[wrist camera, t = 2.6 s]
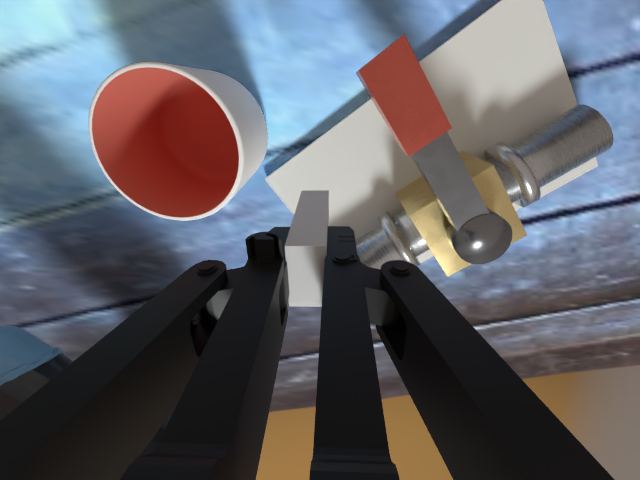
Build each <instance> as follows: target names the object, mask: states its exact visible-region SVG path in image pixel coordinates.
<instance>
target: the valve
mask: <svg viewBox="0 0 640 480" xmlns="http://www.w3.org/2000/svg"><path fill="white" fill-rule="evenodd" d="M612 144H613V133H612V130H611V128H610V126H609V124H608V122H607V121H606V119H605V118H604V117H603V116H602V115H601V114H600V113H599V112H598V111H596V110H595V109H593V108H591V107H589V106H587V105H576V106H574V107H572V108H570V109H569V110H567V111H565V112H564V113H562V114H561V115H559V116H557V117H556V118H554V119H552V120H551V121H549V122H548V123H546V124H544V125H543V126H541V127H539V128H538V129H536V130H534V131H533V132H531V133H530V134H528V135H526V136H525V137H523V138H521V139H520V140H518V141H517V142H515V143H513V144H512V145H510V146H509V145H508V144H506V143H504V142H497V143H496V144H494V145H492V146H491V147H489V148H488V149H486V150H485V152H484V155H485V157H486V159H487V160H486V161H483V160H481V159H479V158H477V157H475V156H473V155H470V154H468V153H466V152H464V151H460V152H459V155H460V157H461V159H462V161H463V163H464V165H465V167H466V169H467V171H468V173H469V175H470V177H471V179H472V180H473V182H474V184H475V186H476V188H477V190H478V192H479V194H480V196H481V198H482V200H483V202H484V204H485V205H486V207H487V208H489V209H491V210H493V211H494V212H496V213H497V214H498V215H500V216H501V217H502V218H504V219H505V220H506V221H507V222H508V223H509V224H510V226H511V228H512V241H511V243H513V242H515V241H517V240H519V239H521V238H523V237H525V236H527V234H526V232H525V230H524V228H523V226H522V223H521V221H520V219H519V217H518V215H517V213H516V211H515V209H514V207H513V205H512V203H516V204H517V205H519V206H521V207H526V206H528V205H530V204H532V203H534V202H535V201H537V200H539V199H540V196H541V191H540V188H541V187H543V186H544V185H546V184H548V183H550V182H552V181H553V180H555V179H557V178H559V177H561V176H562V175H564V174H566V173H568V172H569V171H571V170H573V169H575V168H577V167H578V166H580V165H582V164H584V163H586V162H587V161H589V160H591V159H593V158H595V157H596V156H598V155H600V154H602V153H604V152H605V151H607V150H609V149H610V148H611V146H612ZM395 195H396V196H397V198H398V199H399V201H400V203H401V204H402V206H403V207H404V209H405V210H404V211H402V212H401V213H399V214H397V215H396V216H394V217H393V218H392V217H391V215H390V214H389V213H388V211H387V212H385V213H383V214H382V215H380V216H379V217H378V219H379V222H380V224H381V225H379V226H378V227H376V228H375V229H373V230H371V231H370V232H368V233H366V234H365V235H363V236H362V237H360V238H358V239H357V240H355V242H356V249H357V255H358V256H359V258H360V260H361V263H362V264H364V265H366V266H368V267H372V268H376V269H381V266H382V264H384V263H385V262H387V261H391V260H402V261H407V262H409V263H412V264H414V265H415V266H418V265H420V262H419V260H418V258H417V256H419V255H421V254H422V253H424V252H426V251H428V250H431V251H432V253H433V255H434V256H435V258H436V259H437V261H438V262H439V264H440V265H441V267H442V269H443V270H444V272H445V273H446V275H447V276H450V275H452V274H454V273H455V272H457V271H459V270H461V269H463V268H465V267H467V266H469V265H471V263H468V262H466V261H464V260H463V259H461V258H460V257H459V255H458V254H457V253H456V251H455V250H454V249H453V248H452V246H451V245H450V244H449V241H448V239H447V230H448V226H449V224H450V222H449V220H448V219H447V217H446V215H445V214H444V212H443V210H442V208H441V207H440V205H439V203H438V202H437V200H436V198H435V196H434V195H433V193H432V191H431V190H430V188H429V186H428V185H427V183H426V181H425V179H424V178H423V176H421V177H420V178H418V179H416V180H415V181H413V182H412V183H410V184H409V185H407V186H406V187H404V188H402V189H401V190H399V191H398V192H396V193H395ZM511 243H510V244H511Z"/></svg>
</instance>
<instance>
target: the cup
mask: <svg viewBox="0 0 640 480" xmlns="http://www.w3.org/2000/svg"><path fill="white" fill-rule="evenodd" d="M89 135H90V141H91V145H92V149H93V152H94V154H95V157H96V159H97V161H98V164H99V166H100V167H101V169H102V171H103V172H104V174H105V176H106V177H107V178H108V180H109V181H110V182H111V184H112V185H113V186H114V187H115V188H116V189H117V190H118V191H119V192H120V193H121V194H122V195H123V196H124V197H125V198H126V199H128V200H129V201H130V202H132V203H133V204H134V205H136V206H137V207H139V208H141V209H143V210H145V211H147V212H149V213H151V214H153V215H156V216H159V217H162V218H166V219H171V220H182V221H185V220H196V219H200V218H204V217H207V216H209V215H211V214H213V213H215V212H217V211H218V210H220V209H221V208H223V207H224V206H225V205H226V204H227V203H228V202H229V201H230V200H231V199H232V198H233V196H234V195H235V194H236V193H237V192H238V191H239V190H240V189H241V188H242V187H243V185H244V184H245V183H246V182H247V181H248V180H249V179H250V178H251V177H252V176H253V174H254V173H255V172H256V171H257V170H258V168H259V167H260V165H261V164H262V162H263V159H264V157H265V154H266V150H267V144H268V131H267V125H266V121H265V117H264V115H263V112H262V110H261V108H260V106H259V104H258V103H257V101H256V100H255V98H254V97H253V96H252V94H251V93H250V92H249V91H248V90H247V89H246V88H245V87H244V86H243V85H242V84H240V83H239V82H238V81H236V80H234V79H233V78H231V77H229V76H227V75H225V74H222V73H219V72H215V71H210V70H204V69H198V68H191V67H185V66H179V65H173V64H167V63H160V62H139V63H133V64H130V65H127V66H124V67H122V68H120V69H118V70H116V71H115V72H113V73H112V74H111V75H109V76H108V77H107V78H106V79H105V80H104V81H103V82H102V84H101V85H100V87H99V88H98V89H97V91H96V93H95V95H94V97H93V100H92V103H91V107H90V112H89Z"/></svg>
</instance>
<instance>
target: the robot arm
mask: <svg viewBox="0 0 640 480" xmlns="http://www.w3.org/2000/svg"><path fill="white" fill-rule="evenodd" d="M246 247H247V254H248V261H247V263H246V265H245V266H244V267H241V268H236V269H230V270H226V264H224V263H223V262H221V261H218V260H208V261H207V260H206V261H202V262H200V263H197V264H195V265H194V266H192V267H191V268H189V269H188V270H187V271H186V272H184V273H183V274H182V275H181V276H179V277H178V278H177V279H176V280H174V281H173V282H172V283H171V284H169V285H168V286H167V287H166V288H164V289H163V290H162V291H161V292H159V293H158V294H157V295H156V296H154V297H153V298H152V299H151V300H149V301H148V302H147V303H146V304H145V305H143V306H142V307H141V308H140V309H138V310H137V311H136V312H135V313H133V314H132V315H131V316H130V317H128V318H127V319H126V320H125V321H123V322H122V323H121V324H120V325H118V326H117V327H116V328H115V329H113V330H112V331H111V332H110V333H108V334H107V335H106V336H105V337H103V338H102V339H101V340H100V341H99V342H97V343H96V344H95V345H94V346H92V347H91V348H90V349H89V350H87V351H86V352H85V353H84V354H82V355H81V356H80V357H79V358H77V359H76V360H75V361H74V362H73V361H72V360H70V359H69V358H68V357H66V356H65V355H63V354H62V352H63V351H62V350H61V349H59V348H53V347H51V346H50V345H48V344H46V343H45V342H43V341H42V340H40V339H38V338H37V337H35V336H33V335H32V334H30V333H29V332H27V331H25V330H24V329H21V328H19V327H15V326H0V480H256V475H257V470H258V465H259V460H260V454H261V449H262V444H263V439H264V434H265V429H266V424H267V419H268V414H269V409H270V404H271V398H272V393H273V388H274V383H275V378H276V373H277V368H278V363H279V358H280V353H281V348H282V342H283V337H284V332H285V327H286V322H287V317H288V309H287V302H288V298H289V306H310V307H322V312H321V329H320V346H319V363H318V380H317V397H316V415H315V433H314V449H313V459H312V461H311V468H310V480H399V475H398V471H397V468H396V465H395V464H394V463H393V462H392V461H391V458H390V454H389V448H388V441H387V434H386V428H385V421H384V415H383V408H382V401H381V394H380V387H379V381H378V374H377V367H376V361H375V354H374V347H373V341H372V334H371V327H370V323H371V324H375V325H376V329H377V332H378V334H379V336H380V338H381V340H382V342H383V344H384V345H385V347H386V349H387V351H388V353H389V355H390V357H391V359H392V361H393V363H394V365H395V367H396V369H397V371H398V373H399V375H400V377H401V379H402V380H403V382H404V384H405V386H406V388H407V390H408V392H409V394H410V396H411V398H412V400H413V402H414V404H415V406H416V408H417V410H418V411H419V413H420V415H421V417H422V419H423V421H424V423H425V425H426V427H427V429H428V431H429V433H430V435H431V437H432V439H433V440H434V442H435V445H436V446H437V448H438V450H439V452H440V454H441V456H442V458H443V460H444V462H445V464H446V466H447V468H448V470H449V472H450V474H451V476H452V477H453V479H454V480H614V479H613V478H612V477H611V476H610V474H609V473H608V472H607V471H606V470H605V469H604V468H603V467H602V466H601V465H600V464H599V462H598V461H597V460H596V459H595V458H594V457H593V456H592V455H591V454H590V453H589V452H588V451H587V450H586V449H585V448H584V446H583V445H582V444H581V443H580V442H579V441H578V440H577V439H576V438H575V437H574V436H573V435H572V433H571V432H570V431H569V430H568V429H567V428H566V427H565V426H564V425H563V424H562V423H561V422H560V421H559V419H558V418H557V417H556V416H555V415H554V414H553V413H552V412H551V411H550V410H549V409H548V407H547V406H546V405H545V404H544V403H543V402H542V401H541V400H540V399H539V398H538V397H537V396H536V395H535V393H534V392H533V391H532V390H531V389H530V388H529V387H528V386H527V385H526V384H525V383H524V382H523V380H522V379H521V378H520V377H519V376H518V375H517V374H516V373H515V372H514V371H513V370H512V369H511V367H510V366H509V365H508V364H507V363H506V362H505V361H504V360H503V359H502V358H501V357H500V356H499V355H498V353H497V352H496V351H495V350H494V349H493V348H492V347H491V346H490V345H489V344H488V343H487V342H486V340H485V339H484V338H483V337H482V336H481V335H480V334H479V333H478V332H477V331H476V330H475V329H474V328H473V326H472V325H471V324H470V323H469V322H468V321H467V320H466V319H465V318H464V317H463V316H462V315H461V313H460V312H459V311H458V310H457V309H456V308H455V307H454V306H453V305H452V304H451V303H450V302H449V301H448V299H447V298H446V297H445V296H444V295H443V294H442V293H441V292H440V291H439V290H438V289H437V288H436V287H435V285H434V284H433V283H432V282H431V281H430V280H429V279H428V278H427V277H426V276H425V275H424V274H423V272H422V271H421V270H420V269H419V268H418V267H417V266H415V265H414V264H412V263H409V262H407V261H402V260H391V261H387V262H385V263H384V264H382V266H381V269H376V268H372V267H368V266H366V265H364V264H362V263H361V260H360V258H359V256H358V255H357V249H356V242H355V234H354V230H352V229H351V228H350V227H349V226H329V190H305V191H301V194H300V198H299V201H298V204H297V207H296V211H295V214H294V217H293V220H292V224H291V227H274V228H273V229H271V230H270V231H269V232H259V233H255V234H252V235H250V236H248V237H247V238H246ZM196 314H197V315H198V319H197V320H196V321H192V319H193V318H194V316H195V315H196Z"/></svg>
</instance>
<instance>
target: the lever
mask: <svg viewBox="0 0 640 480" xmlns="http://www.w3.org/2000/svg"><path fill="white" fill-rule="evenodd" d="M356 74H357V76H358V77H359V79H360V81H361V82H362V84H363V86H364V87H365V89H366V91H367V93H368V94H369V96H370V98H371V99H372V101H373V103H374V104H375V106H376V108H377V109H378V111H379V113H380V114H381V116H382V118H383V119H384V121H385V123H386V125H387V126H388V128H389V130H390V131H391V133H392V135H393V136H394V138H395V140H396V141H397V143H398V145H399V146H400V148H401V150H402V151H403V152H404V153H405V154H406V155H407V156H411V157H412V159H413V161H414V162H415V164H416V166H417V167H418V169H419V171H420V173H421V174H422V176H423V178H424V179H425V181H426V183H427V185H428V186H429V188H430V190H431V191H432V193H433V195H434V196H435V198H436V200H437V202H438V203H439V205H440V207H441V208H442V210H443V212H444V214H445V215H446V217H447V219H448V220H449V222H450V224H449V226H448V230H447V239H448V241H449V244H450V245H451V246H452V248H453V249H454V250H455V251H456V253H457V254H458V255H459V257H460V258H461V259H463V260H464V261H466V262H468V263H471V264H485V263H488V262H491V261H493V260H495V259H497V258H499V257H500V256H501V255H502V254H504V252H505V251H506V250H507V249H508V247H509V246H510V243H511V241H512V228H511V226H510V224H509V223H508V222H507V221H506V220H505V219H504V218H502V217H501V216H500V215H498V214H497V213H496V212H494V211H493V210H491V209H489V208H487V207H486V205H485V204H484V202H483V200H482V198H481V196H480V194H479V192H478V190H477V188H476V186H475V184H474V182H473V180H472V179H471V177H470V175H469V173H468V171H467V169H466V167H465V165H464V163H463V161H462V159H461V157H460V155H459V153H458V152H457V150H456V148H455V146H454V144H453V142H452V140H451V138H450V136H449V134H448V132H447V131H448V130H450V129H451V128H452V127H451V125H450V123H449V121H448V119H447V117H446V115H445V113H444V111H443V109H442V107H441V105H440V103H439V101H438V99H437V97H436V95H435V93H434V91H433V89H432V87H431V85H430V83H429V81H428V80H427V78H426V76H425V74H424V72H423V70H422V68H421V66H420V64H419V62H418V60H417V58H416V56H415V54H414V52H413V50H412V48H411V46H410V44H409V42H408V40H407V38H406V36H405V34H404V35H403V36H401V37H400V38H399V39H397V40H396V41H395V42H393V43H392V44H391V45H390V46H388V47H387V48H386V49H385V50H383V51H382V52H381V53H380V54H378V55H377V56H376V57H375V58H373V59H372V60H371V61H370V62H368V63H367V64H366V65H365V66H363V67H362V68H361V69H360V70H358V71H357V72H356Z"/></svg>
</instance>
